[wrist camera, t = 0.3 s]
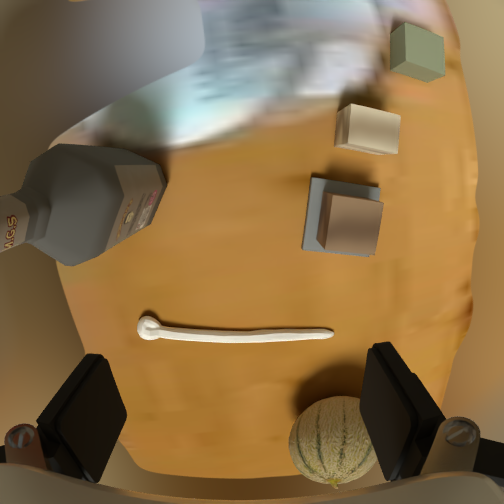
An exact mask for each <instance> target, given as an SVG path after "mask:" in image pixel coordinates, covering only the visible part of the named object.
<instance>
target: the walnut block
mask: <svg viewBox="0 0 504 504" xmlns="http://www.w3.org/2000/svg"><path fill="white" fill-rule="evenodd" d="M383 205H384V203H382V202H379V201H376V200H373V199H369V198H364V197H358V196H351V195H345V194H338V193H331V192H324V191H323V194H322V201H321V209H320V216H319V223H318V230H317V237H316V240H317V241H318V242H319V244H320V245H321V246H322V247H323V248H324V250H330V251H339V252H349V253H358V254H367V255H375V251H376V246H377V240H378V235H379V229H380V223H381V217H382V211H383Z"/></svg>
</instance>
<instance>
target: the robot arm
mask: <svg viewBox="0 0 504 504" xmlns="http://www.w3.org/2000/svg"><path fill="white" fill-rule="evenodd" d="M359 410H360V414H361V416H362V419H363V421H364V424H365V427H366V429H367V432H368V434H369V437H370V440H371V442H372V445H373V448H374V450H375V453H376V456H377V458H378V461H379V464H380V466H381V469H382V472H383V475H384V477H385V479H386V480H387V481H389V480H390V481H391V482H387V483H383V484H379V485H374V486H369V487H365V488H360V489H354V490H348V491H342V492H336V493H330V494H323V495H315V496H307V497H297V498H286V499H270V500H207V499H192V498H179V497H171V496H162V495H155V494H148V493H141V492H135V491H129V490H124V489H119V488H114V487H109V486H105V485H101V484H97V483H98V482H99V481H100V479H101V477H102V474H103V471H104V469H105V467H106V465H107V462H108V460H109V458H110V455H111V453H112V451H113V448H114V446H115V444H116V441H117V439H118V437H119V435H120V432H121V430H122V428H123V426H124V423H125V421H126V418H127V412H126V409H125V406H124V404H123V401H122V399H121V396H120V393H119V391H118V388H117V385H116V383H115V380H114V377H113V374H112V371H111V368H110V365H109V362H108V360H107V359H105V358H104V357H103V355H101V354H86V355H85V357H84V358H83V359H82V361H81V362H80V363H79V364H78V366H77V367H76V368H75V369H74V371H73V372H72V373H71V375H70V376H69V377H68V379H67V380H66V381H65V383H64V384H63V385H62V386H61V388H60V389H59V390H58V392H57V393H56V394H55V396H54V397H53V398H52V400H51V401H50V402H49V404H48V405H47V406H46V408H45V409H44V410H43V412H42V413H41V415H40V416H39V418H38V419H37V420H36V422H37V423H38V426H37V428H35V427H34V426H33V425H30V424H19V425H16V426H14V427H13V428H11V429H10V430H9V431H8V432H7V433H6V436H5V441H4V443H5V445H3V446H0V504H504V443H500V442H496V441H492V440H488V439H484V438H480V429H479V427H478V426H477V424H476V423H475V422H474V421H472V420H470V419H468V418H465V417H458V416H457V417H451V418H449V419H446V418H445V417H444V415H443V414H442V412H441V411H440V409H439V407H438V406H437V404H436V403H435V401H434V400H433V398H432V397H431V396H430V394H429V393H428V391H427V390H426V388H425V387H424V385H423V384H422V382H421V381H420V379H419V378H418V377H417V375H416V374H415V373H412V372H411V371H410V369H409V368H408V367H407V365H406V364H405V362H404V361H403V359H402V358H401V357H400V355H399V354H398V352H397V351H396V349H395V348H394V347H393V345H392V344H391V343H390V342H382V343H375V344H373V347H372V348H369V349H368V353H367V360H366V367H365V374H364V380H363V386H362V392H361V398H360V403H359Z"/></svg>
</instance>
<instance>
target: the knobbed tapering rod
mask: <svg viewBox="0 0 504 504" xmlns="http://www.w3.org/2000/svg"><path fill="white" fill-rule="evenodd" d="M137 330H138V334H139V335H140V336H141V337H142V338H143V339H146V340H154V339H157V338H159V337H161V338H167V339H175V340H187V341H203V342H222V343H251V342H273V341H291V340H305V339H325V338H330V337H332V336H333V335H334V332H332V331H329V330H326V329H277V330H267V329H262V330H255V331H220V330H200V329H187V328H174V327H166V326H162V325H161V324H160V322H159V321H157V320H156V319H154V318H152V317H150V316H144V317H142V318H141V319H140V320H139V322H138V325H137Z"/></svg>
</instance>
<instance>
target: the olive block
mask: <svg viewBox="0 0 504 504" xmlns="http://www.w3.org/2000/svg"><path fill="white" fill-rule="evenodd" d="M390 71H394V72H397V73H400V74H403V75H406V76H409V77H412V78H415V79H418V80H421V81H424V82H427V83H428V82H430V81H433V80H435V79H438V78H440V77H443V76H445V56H444V40H443V37H441V36H439V35H437V34H434V33H432V32H430V31H427V30H425V29H422V28H420V27H417V26H414V25H412V24H409V23H406V22H404V23H403V24H402V25H400V26H399V27H398V28H397V29H396V30H395V31H393V32H392V33H391V34H390Z"/></svg>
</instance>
